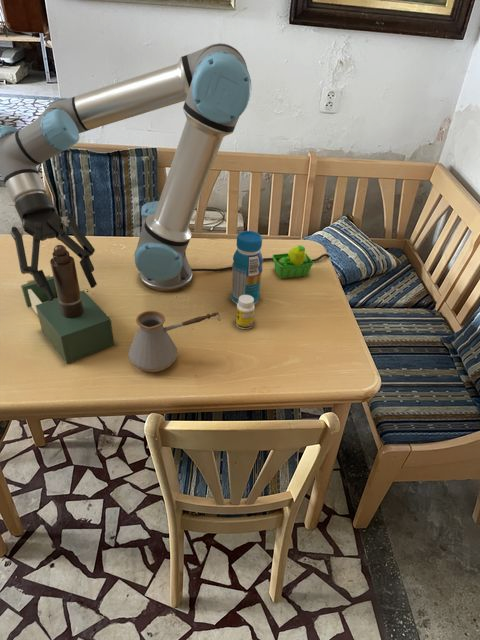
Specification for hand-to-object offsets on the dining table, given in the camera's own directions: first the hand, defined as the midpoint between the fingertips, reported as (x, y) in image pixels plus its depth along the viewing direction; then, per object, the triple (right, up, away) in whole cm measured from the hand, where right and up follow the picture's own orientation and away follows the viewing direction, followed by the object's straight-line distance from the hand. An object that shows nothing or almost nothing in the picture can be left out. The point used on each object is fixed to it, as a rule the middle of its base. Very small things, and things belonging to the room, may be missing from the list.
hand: (73, 292), depth 109 cm
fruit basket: (+52, +11, +44) cm, 69 cm away
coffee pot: (+21, -16, +8) cm, 28 cm away
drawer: (-13, -2, +19) cm, 23 cm away
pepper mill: (-3, -4, +6) cm, 8 cm away
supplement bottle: (+38, -6, +22) cm, 44 cm away
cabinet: (-3, -10, +12) cm, 16 cm away
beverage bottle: (+38, +2, +31) cm, 49 cm away
